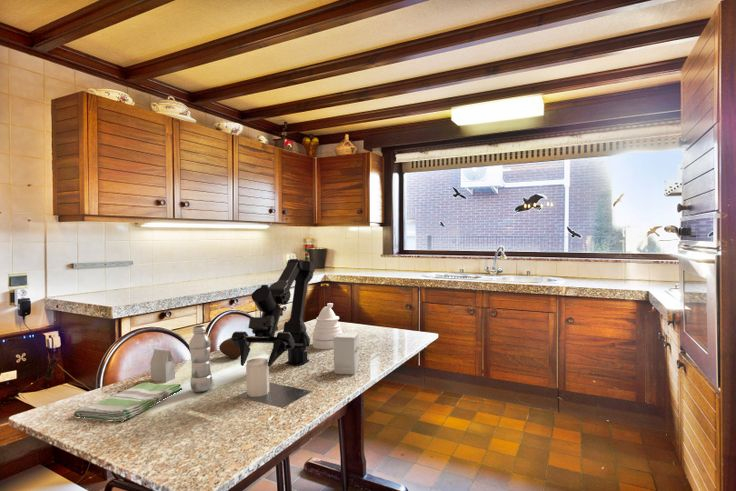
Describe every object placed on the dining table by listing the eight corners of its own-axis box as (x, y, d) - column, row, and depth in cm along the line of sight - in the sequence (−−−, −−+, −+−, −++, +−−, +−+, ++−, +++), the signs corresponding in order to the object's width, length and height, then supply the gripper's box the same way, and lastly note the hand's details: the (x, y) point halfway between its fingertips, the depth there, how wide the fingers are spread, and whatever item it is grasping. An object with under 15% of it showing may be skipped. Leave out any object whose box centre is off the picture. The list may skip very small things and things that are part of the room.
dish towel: (71, 419, 110) (70, 406, 110) (138, 388, 132) (137, 377, 132) (124, 425, 106) (123, 411, 106) (184, 391, 128) (183, 380, 128)
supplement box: (354, 374, 138) (353, 337, 137) (333, 374, 139) (332, 337, 139) (359, 367, 145) (358, 332, 145) (339, 367, 146) (338, 331, 146)
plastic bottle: (191, 396, 123) (188, 329, 122) (189, 389, 129) (187, 325, 128) (214, 392, 126) (211, 327, 125) (211, 385, 132) (209, 323, 131)
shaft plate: (235, 399, 120) (235, 384, 120) (267, 384, 131) (267, 371, 131) (282, 410, 111) (282, 395, 111) (312, 393, 122) (312, 379, 122)
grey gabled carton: (166, 382, 136) (165, 352, 135) (151, 380, 138) (149, 350, 138) (175, 378, 139) (173, 349, 139) (160, 376, 142) (158, 347, 141)
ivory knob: (244, 392, 122) (243, 361, 122) (262, 387, 126) (261, 356, 126) (253, 398, 118) (252, 365, 118) (272, 392, 122) (271, 360, 122)
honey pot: (348, 343, 179) (347, 302, 178) (330, 350, 168) (329, 306, 167) (325, 339, 186) (324, 300, 185) (306, 346, 175) (305, 304, 174)
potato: (236, 361, 157) (236, 340, 157) (215, 359, 160) (215, 339, 160) (248, 355, 164) (247, 336, 163) (228, 354, 167) (227, 334, 167)
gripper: (232, 305, 127) (214, 351, 116) (290, 305, 124) (277, 352, 113) (245, 325, 135) (229, 369, 124) (299, 326, 132) (288, 371, 121)
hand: (255, 365), depth 120 cm, fingers open, 8 cm apart
